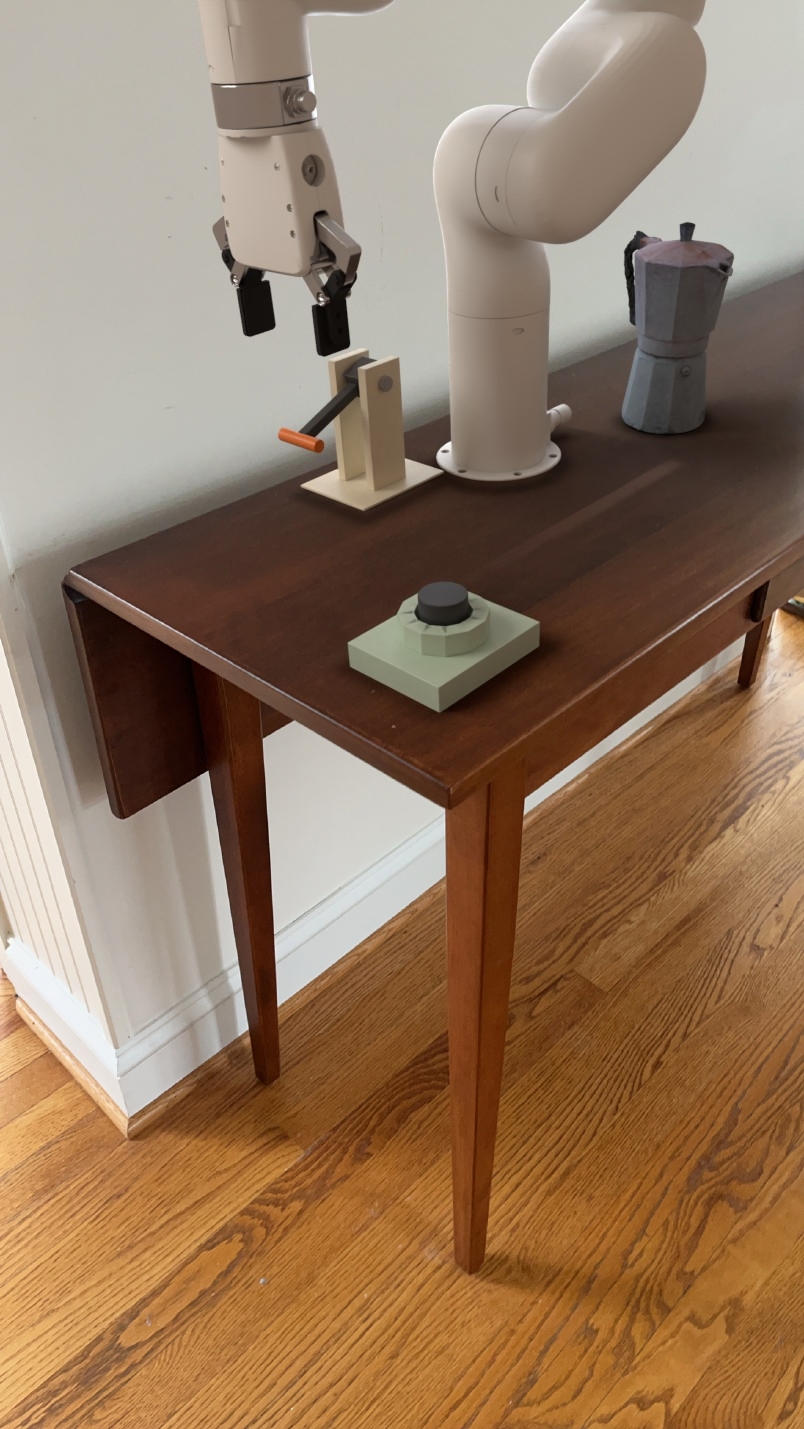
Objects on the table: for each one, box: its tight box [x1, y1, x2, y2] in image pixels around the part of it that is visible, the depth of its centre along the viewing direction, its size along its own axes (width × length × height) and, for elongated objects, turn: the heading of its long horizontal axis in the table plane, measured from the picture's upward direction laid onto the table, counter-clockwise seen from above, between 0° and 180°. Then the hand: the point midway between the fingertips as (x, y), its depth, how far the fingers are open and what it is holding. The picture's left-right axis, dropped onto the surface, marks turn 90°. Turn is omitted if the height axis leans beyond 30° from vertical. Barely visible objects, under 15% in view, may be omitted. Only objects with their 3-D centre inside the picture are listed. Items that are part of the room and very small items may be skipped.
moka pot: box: [621, 221, 735, 435], centre depth 106 cm, size 10×15×20 cm, turn 33°
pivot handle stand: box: [300, 347, 445, 512], centre depth 97 cm, size 11×9×13 cm
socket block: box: [347, 591, 541, 713], centre depth 75 cm, size 11×9×4 cm
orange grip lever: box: [277, 356, 379, 454], centre depth 93 cm, size 11×5×2 cm, turn 136°
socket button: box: [417, 581, 469, 626], centre depth 73 cm, size 4×4×2 cm
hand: (295, 342), depth 86 cm, fingers open, 9 cm apart
